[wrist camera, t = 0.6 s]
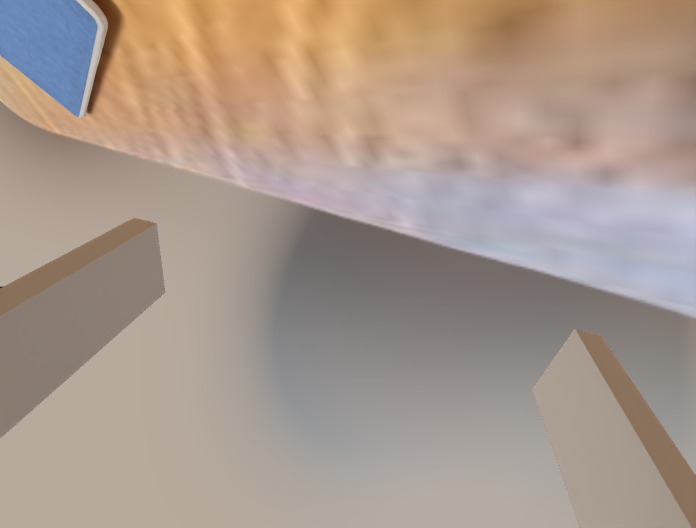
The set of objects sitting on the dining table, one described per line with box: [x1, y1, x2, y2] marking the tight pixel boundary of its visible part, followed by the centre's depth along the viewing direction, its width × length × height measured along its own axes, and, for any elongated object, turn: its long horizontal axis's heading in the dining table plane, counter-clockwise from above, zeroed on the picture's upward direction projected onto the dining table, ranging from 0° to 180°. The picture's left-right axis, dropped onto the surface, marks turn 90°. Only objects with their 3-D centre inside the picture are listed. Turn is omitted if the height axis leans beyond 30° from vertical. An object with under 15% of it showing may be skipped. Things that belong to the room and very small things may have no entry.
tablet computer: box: [0, 0, 108, 118], centre depth 30 cm, size 19×13×1 cm, turn 132°
